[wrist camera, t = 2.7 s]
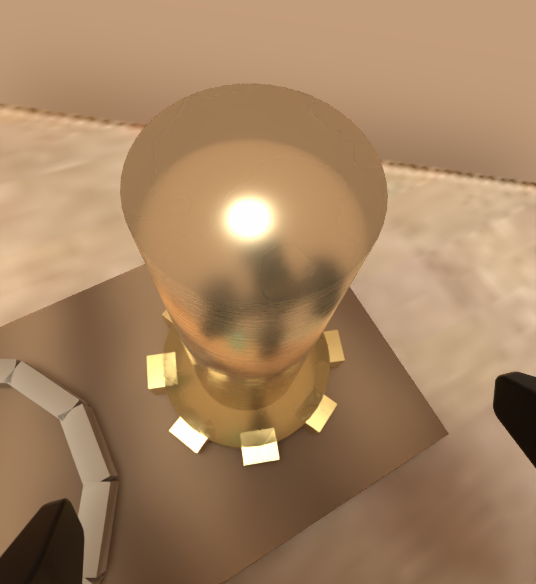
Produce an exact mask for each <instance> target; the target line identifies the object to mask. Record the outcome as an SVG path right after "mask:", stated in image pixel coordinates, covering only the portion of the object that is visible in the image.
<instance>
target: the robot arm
mask: <svg viewBox="0 0 536 584" xmlns="http://www.w3.org/2000/svg"><path fill="white" fill-rule="evenodd" d="M493 409H494V412H495V414H496V416H497V418H498V419H499V420H500V422H501V423H502V424H503V426H504V427H505V428H506V430H507V431H508V432H509V434H510V435H511V436H512V438H513V439H514V440H515V442H516V443H517V444H518V446H519V447H520V448H521V450H522V451H523V452H524V453H525V455H526V456H527V457H528V459H529V460H530V461H531V463H532V464H533V465H534V467H535V468H536V377H534V376H531V375H527V374H524V373H520V372H510V373H506V374H503V375H499V376H498V377H497V378H496V380H495V389H494V400H493ZM84 541H85V538H84V530H83V527H82V524H81V522H80V520H79V518H78V516H77V514H76V511H75V509H74V507H73V505H72V503H71V501H70V500H69V499H67V498H62V499H59V500H55V501H52V502H48V503H46V504H44V505H43V506H42V507H41V508H40V509H39V510H38V511H37V512H36V514H35V515H34V516H33V517H32V519H31V520H30V521H29V522H28V523H27V525H26V526H25V527H24V528H23V530H22V531H21V532H20V533H19V534H18V536H17V537H16V538H15V539H14V541H13V542H12V543H11V544H10V545H9V547H8V548H7V549H6V550H5V551H4V553H3V554H2V555H1V556H0V584H82V581H83V561H84Z"/></svg>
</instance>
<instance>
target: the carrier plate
mask: <svg viewBox="0 0 536 584" xmlns="http://www.w3.org/2000/svg"><path fill="white" fill-rule="evenodd" d="M165 310H166V307H165V305H164V303H163V301H162V299H161V296H160V294H159V292H158V290H157V288H156V286H155V283H154V281H153V279H152V277H151V275H150V273H149V271H148V268H147V266H146V264H144V265H141V266H139V267H137V268H135V269H132V270H130V271H128V272H125V273H123V274H121V275H118V276H116V277H114V278H112V279H109V280H107V281H105V282H102V283H100V284H98V285H96V286H93V287H91V288H89V289H86V290H84V291H82V292H79V293H77V294H75V295H73V296H70V297H68V298H66V299H63V300H61V301H59V302H56V303H54V304H52V305H50V306H47V307H45V308H43V309H40V310H38V311H36V312H34V313H31V314H29V315H27V316H24V317H22V318H20V319H17V320H15V321H13V322H11V323H8V324H6V325H4V326H1V327H0V556H1V555H2V554H3V553H4V551H5V550H6V549H7V548H8V547H9V545H10V544H11V543H12V542H13V541H14V539H15V538H16V537H17V536H18V534H19V533H20V532H21V531H22V530H23V528H24V527H25V526H26V525H27V523H28V522H29V521H30V520H31V519H32V517H33V516H34V515H35V514H36V512H37V511H38V510H39V509H40V508H41V507H42V506H43V505H44V504H46V503H48V502H52V501H55V500H59V499H62V498H67V499H69V500H70V501H71V503H72V505H73V507H74V509H75V511H76V514H77V516H78V518H79V520H80V522H81V524H82V527H83V530H84V538H85V541H84V561H83V581H82V584H222V583H223V582H225V581H226V580H228V579H229V578H231V577H232V576H234V575H235V574H237V573H238V572H240V571H241V570H243V569H244V568H246V567H248V566H249V565H251V564H252V563H254V562H255V561H257V560H258V559H260V558H261V557H263V556H264V555H266V554H267V553H269V552H270V551H272V550H273V549H275V548H276V547H278V546H279V545H281V544H282V543H284V542H285V541H287V540H288V539H290V538H291V537H293V536H295V535H296V534H298V533H299V532H301V531H302V530H304V529H305V528H307V527H308V526H310V525H311V524H313V523H314V522H316V521H317V520H319V519H320V518H322V517H323V516H325V515H326V514H328V513H329V512H331V511H332V510H334V509H335V508H337V507H338V506H340V505H341V504H343V503H345V502H346V501H348V500H349V499H351V498H352V497H354V496H355V495H357V494H358V493H360V492H361V491H363V490H364V489H366V488H367V487H369V486H370V485H372V484H373V483H375V482H376V481H378V480H379V479H381V478H382V477H384V476H385V475H387V474H388V473H390V472H392V471H393V470H395V469H396V468H398V467H399V466H401V465H402V464H404V463H405V462H407V461H408V460H410V459H411V458H413V457H414V456H416V455H417V454H419V453H420V452H422V451H423V450H425V449H426V448H428V447H429V446H431V445H432V444H434V443H435V442H437V441H438V440H440V439H442V438H443V437H445V436H446V435H448V432H447V431H446V429H445V428H444V426H443V425H442V423H441V422H440V420H439V419H438V417H437V416H436V414H435V413H434V411H433V410H432V408H431V407H430V405H429V404H428V402H427V401H426V399H425V398H424V396H423V395H422V393H421V392H420V390H419V389H418V388H417V386H416V385H415V383H414V382H413V380H412V379H411V377H410V376H409V374H408V373H407V371H406V370H405V368H404V367H403V365H402V364H401V362H400V361H399V359H398V358H397V356H396V355H395V353H394V352H393V350H392V349H391V347H390V346H389V345H388V343H387V342H386V340H385V339H384V337H383V336H382V334H381V333H380V331H379V330H378V328H377V327H376V325H375V324H374V322H373V321H372V319H371V318H370V316H369V315H368V313H367V312H366V310H365V309H364V307H363V306H362V304H361V303H360V301H359V300H358V299H357V297H356V296H355V294H354V293H353V291H352V290H351V288H350V287H349V288H348V290H347V291H346V293H345V295H344V296H343V298H342V300H341V301H340V303H339V305H338V306H337V308H336V310H335V312H334V313H333V315H332V317H331V318H330V320H329V322H328V323H327V325H326V327H325V329H324V330H323V332H325V331H332V330H338V333H339V337H340V341H341V346H342V350H343V354H344V358H345V361H344V362H343V363H342V364H341V365H340V366H339V367H338V368H334V369H330V372H329V380H328V384H327V388H326V391H325V393H324V395H326V396H327V397H328V398H330V399H331V400H333V401H334V402H335V403H337V406H336V407H335V409H334V410H333V412H332V414H331V415H330V417H329V418H328V420H327V421H326V423H325V425H324V426H323V428H322V429H321V431H320V432H319V433H318V434H315V435H312V434H311V433H310V432H308V431H307V430H306V429H304V428H303V427H302V426H301V427H300V428H299V429H297V430H296V431H295V432H293V433H292V434H291V435H289V436H288V437H286V438H284V439H282V440H281V441H279V442H277V448H278V454H279V460H274V461H268V462H263V463H257V464H251V465H245V466H244V463H243V455H242V449H236V448H230V447H225V446H222V445H219V444H216V443H214V442H212V441H209V443H208V444H207V445H206V447H205V448H204V450H203V451H202V452H201V454H198V453H196V452H195V451H193V450H192V449H191V448H190V447H189V446H187V445H186V444H185V443H184V442H182V441H181V440H180V439H179V438H177V437H176V436H175V435H174V434H172V433H171V432H170V431H169V430H170V429H171V428H172V427H173V425H174V424H175V423H176V421H177V420H178V419H179V418H180V415H179V414H178V413H177V412H176V410H175V408H174V407H173V405H172V403H171V402H170V399H169V397H168V395H167V393H165V394H158V395H155V394H153V393H152V392H151V391H150V390H149V389H148V375H147V356H150V355H157V354H163V348H164V345H165V341H166V338H167V335H168V333H169V331H170V327H168V326H167V324H166V322H165V320H164V318H163V316H162V314H163V313H164V311H165Z"/></svg>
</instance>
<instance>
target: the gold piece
mask: <svg viewBox="0 0 536 584" xmlns="http://www.w3.org/2000/svg"><path fill="white" fill-rule="evenodd" d="M120 195H121V204H122V209H123V213H124V216H125V220H126V223H127V225H128V227H129V230H130V232H131V234H132V236H133V238H134V240H135V242H136V245H137V247H138V249H139V251H140V253H141V255H142V258H143V260H144V262H145V264H146V266H147V268H148V271H149V273H150V275H151V277H152V279H153V281H154V283H155V286H156V288H157V290H158V292H159V294H160V296H161V299H162V301H163V303H164V305H165V307H166V310H165V311H164V313H163V314H162V316H163V318H164V320H165V322H166V324H167V326H168V327H170V331H169V333H168V335H167V338H166V341H165V345H164V348H163V354H157V355H150V356H147V375H148V389H149V390H150V391H151V392H152V393H153V394H155V395H158V394H165V393H167V395H168V397H169V399H170V402H171V403H172V405H173V407H174V408H175V410H176V412H177V413H178V414H179V415H180V418H179V419H178V420H177V421H176V423H175V424H174V425H173V427H172V428H171V429H170V430H169V431H170V432H171V433H172V434H174V435H175V436H176V437H177V438H179V439H180V440H181V441H182V442H184V443H185V444H186V445H187V446H189V447H190V448H191V449H192V450H193V451H195V452H196V453H198V454H201V452H202V451H203V450H204V448H205V447H206V445H207V444H208V443H209V441H212V442H214V443H216V444H219V445H222V446H225V447H230V448H236V449H242V455H243V463H244V466H245V465H251V464H257V463H263V462H268V461H274V460H279V454H278V448H277V442H279V441H281V440H282V439H284V438H286V437H288V436H289V435H291V434H292V433H293V432H295V431H296V430H297V429H299V428H300V427H301V426H302V427H303V428H304V429H306V430H307V431H308V432H310V433H311V434H312V435H315V434H318V433H319V432H320V431H321V429H322V428H323V426H324V425H325V423H326V421H327V420H328V418H329V417H330V415H331V414H332V412H333V410H334V409H335V407H336V406H337V403H335V402H334V401H333V400H331V399H330V398H328V397H327V396H326V395H324V393H325V391H326V388H327V384H328V380H329V372H330V369H334V368H338V367H339V366H340V365H341V364H342V363H343V362H344V361H345V358H344V354H343V350H342V346H341V341H340V337H339V333H338V330H332V331H325V332H323V330H324V329H325V327H326V325H327V323H328V322H329V320H330V318H331V317H332V315H333V313H334V312H335V310H336V308H337V306H338V305H339V303H340V301H341V300H342V298H343V296H344V295H345V293H346V291H347V290H348V288H349V286H350V284H351V283H352V281H353V279H354V278H355V276H356V274H357V273H358V271H359V269H360V267H361V266H362V264H363V262H364V261H365V259H366V257H367V256H368V254H369V252H370V251H371V249H372V247H373V245H374V244H375V242H376V240H377V239H378V236H379V234H380V231H381V229H382V227H383V224H384V220H385V215H386V211H387V198H388V195H387V184H386V178H385V174H384V170H383V167H382V165H381V162H380V160H379V157H378V155H377V153H376V152H375V150H374V148H373V146H372V145H371V143H370V142H369V140H368V139H367V138H366V136H365V135H364V134H363V132H362V131H361V130H360V129H359V128H358V127H357V126H356V125H355V124H354V123H353V122H352V121H351V120H350V119H348V118H347V117H346V116H344V115H343V114H342V113H341V112H340V111H338V110H336V109H335V108H333V107H332V106H330V105H329V104H327V103H325V102H323V101H321V100H319V99H317V98H315V97H313V96H310V95H308V94H305V93H302V92H300V91H296V90H292V89H288V88H285V87H279V86H274V85H265V84H234V85H225V86H221V87H215V88H210V89H207V90H204V91H201V92H198V93H195V94H192V95H190V96H188V97H185V98H183V99H181V100H179V101H177V102H176V103H174V104H172V105H171V106H169V107H167V108H166V109H165V110H163V111H162V112H161V113H159V114H158V115H157V116H155V118H154V119H153V120H151V121H150V122H149V123H148V124H147V125H146V126H145V127H144V129H143V130H142V131H141V133H140V134H139V135H138V136H137V138H136V139H135V141H134V143H133V145H132V146H131V148H130V150H129V152H128V155H127V157H126V160H125V163H124V166H123V171H122V176H121V188H120Z"/></svg>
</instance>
